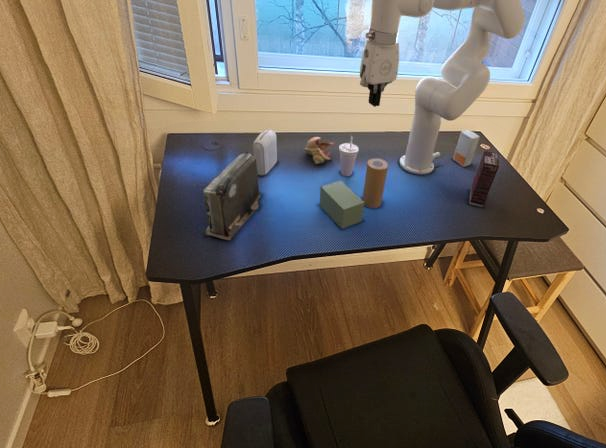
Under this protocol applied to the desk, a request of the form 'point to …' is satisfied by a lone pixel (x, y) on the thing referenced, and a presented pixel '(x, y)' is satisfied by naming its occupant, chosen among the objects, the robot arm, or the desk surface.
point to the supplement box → (484, 178)
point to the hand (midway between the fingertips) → (373, 104)
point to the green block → (341, 204)
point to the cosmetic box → (466, 148)
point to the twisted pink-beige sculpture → (318, 149)
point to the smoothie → (347, 157)
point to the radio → (232, 197)
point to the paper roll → (374, 182)
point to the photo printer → (265, 151)
